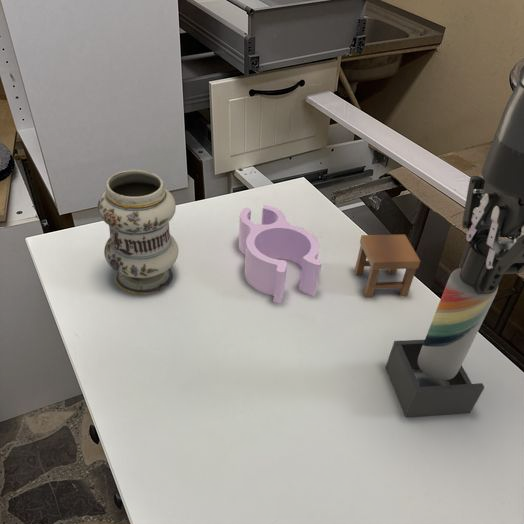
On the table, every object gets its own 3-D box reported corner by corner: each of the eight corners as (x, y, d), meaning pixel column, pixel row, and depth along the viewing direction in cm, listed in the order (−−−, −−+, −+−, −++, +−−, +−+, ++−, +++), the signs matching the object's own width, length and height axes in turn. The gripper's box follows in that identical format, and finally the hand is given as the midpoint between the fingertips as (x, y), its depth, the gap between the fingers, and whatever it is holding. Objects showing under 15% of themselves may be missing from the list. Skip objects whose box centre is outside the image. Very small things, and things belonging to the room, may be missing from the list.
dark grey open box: (444, 365, 81) (456, 337, 77) (469, 415, 74) (484, 387, 70) (384, 369, 79) (394, 340, 75) (404, 419, 73) (416, 391, 69)
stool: (394, 271, 98) (405, 234, 92) (408, 298, 92) (420, 261, 86) (352, 272, 96) (361, 235, 91) (364, 300, 91) (374, 262, 85)
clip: (222, 243, 100) (223, 211, 95) (282, 233, 104) (285, 201, 99) (262, 308, 87) (265, 275, 83) (328, 294, 91) (335, 261, 86)
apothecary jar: (149, 309, 85) (137, 211, 73) (94, 282, 89) (74, 184, 77) (193, 273, 93) (190, 179, 80) (141, 250, 97) (130, 156, 84)
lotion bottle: (436, 346, 76) (486, 227, 62) (466, 371, 73) (526, 252, 59) (408, 360, 74) (453, 240, 59) (437, 387, 70) (492, 266, 56)
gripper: (616, 172, 46) (533, 318, 58) (536, 108, 56) (479, 245, 68) (538, 173, 45) (469, 321, 57) (470, 108, 55) (424, 246, 67)
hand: (475, 279), depth 62 cm, fingers closed on lotion bottle, 3 cm apart
